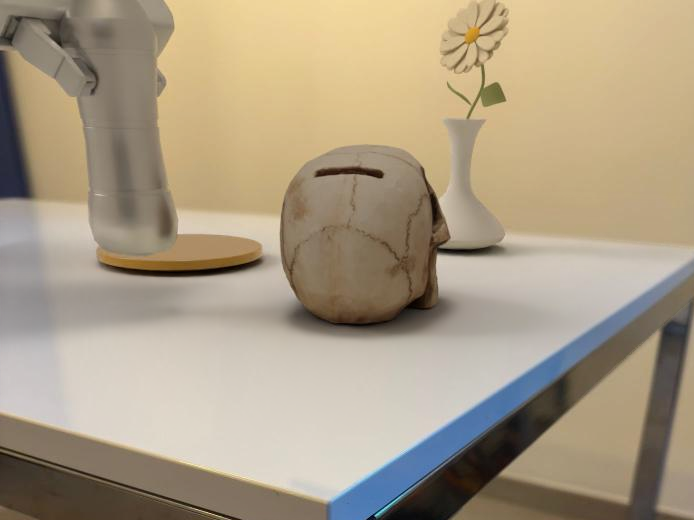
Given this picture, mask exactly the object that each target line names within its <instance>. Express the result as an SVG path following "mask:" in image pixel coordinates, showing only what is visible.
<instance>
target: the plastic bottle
mask: <svg viewBox="0 0 694 520" xmlns="http://www.w3.org/2000/svg"><path fill="white" fill-rule="evenodd" d="M59 36H60V40H61V44H62V49H64V50H65V51H66V52H67V53H68V54H69V55H70V56H72V57H73V58H81V59H82V60H83V61H84V62H85V63H86V65H87V66H88V69H89V70H90V71H92V72H93V74H94V75H95V78H96V85H95V87H94V88H93V89H92V90H91V94H90V96H87V97H75V99H76V102H77V108H78V113H79V117H80V120H81V121H82V126H81V128H82V132H83V138H84V141H85V142H84V143H85V155H86V156H85V157H86V167H87V168H86V169H87V179H88V181H87V182H88V187H89V191H88V192H87V215H88V216H87V217H88V225H89V227H90V230H91V234H92V236H93V239H94V241H95V242H96V244H97V245H98V246H100V247H101V249H102V250H104V251H107V252H112V253H117V254H122V255H126V256H131V257H144V256H148V255H152V254H155V253H159V252H163V251H166V250H169V249H171V248H172V247H173V245H174V243H175V241H176V239H177V234H179V233H178V232H179V231H178V230H179V217H178V213H177V209H176V204H175V201H174V197H173V194H172V191H171V190H169V181H168V176H167V175H168V174H167V171H166V164H165V159H164V154H163V150H162V149H163V148H162V144H161V133H160V127H159V121H158V120H159V107H158V106H159V105H158V97H157V68H158V58H157V52H158V50H157V37H156V34H155V31H154V28H153V25H152V23H151V21H150V19H149V18H148V16H147V14H146V13H145V11H144V9H143V8H142V6H141V5H140V3H139V2H138V1H137V0H68V2H67V4H66V7H65V11H64V14H63V17H62V19H61V20H60V31H59Z"/></svg>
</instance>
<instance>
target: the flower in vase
mask: <svg viewBox="0 0 694 520" xmlns="http://www.w3.org/2000/svg"><path fill="white" fill-rule="evenodd" d="M509 11H510V10H509V8H508V7H505V3H504V2H500V1H497V0H479V1H478V2H477V0H469V1H468V4H467V6H466V8H459V9H458V10H457V12H456V17H450V18H449V19H447V23H446V25H447V29H446V30H444V31H443V32H442V34H441V40H440V43H439V45H440V46H439V49H438V50H439V54H440V55H441V58H440V59H439V63H440V64H439V65H441V66H442V67H445V68H446V70H447V71H449V72H450V71H453V74H455V75H460V74H463V73H464V74H467V73H469V72H470V71H471V70H472V69H473V67H475V68H480V71H481V84H480V88H479V90H478V93H477V95H476V97H475V98H474V100H473V103H471V101H470V100H469V99H468V98H467V97H466V96H465V95H463V93H461V92H459V91H457V90H455V89H454V88H453V87H452V86H451V85H450V83H449V82H448V80H446V85H447V89H448V90H449V91H451V92H452V93H453V94H455V95H456V96H457V97H459V98H460V99H462V100H463V101H464V102H465V103H467V104H468V105H470V109H469V111H468V113H467V115H466V118H465V117H441V118H440V119H441V120H440V121H441V122H442V124H443V126H444V128H445V129H446V131H447V135H448V139H449V146H450V158H451V159H450V175H449V177H450V178H449V182H448V186H447V189H446V191H445V192H444V193H443V195H441V197H440V198H438V201H439V204H440V207H441V210H442V212H443V214H444V216H445V218H446V223H447V227H448V230H449V233H450V236H451V239H450V240H449V241H447V243H445V244H444V245H442V246H439V247H438V249H444V250H476V249H483V248H489V247H491V246H494V245H496V244H499V243H500V242H502V241H503V239H504V238H505V237H506V231H505V227H504V226H503V225H502V223H501V222H500V221H499V219H498V218H497V217H496V216H495V215H494V214H493V212H491V211H490V210H489V209H488V208H487V207H486V206H485V205H484V204H483V203H482V202H481V201H480V200H479V199H478V197H477V196H476V195H475V193H474V191H473V189H472V185H471V183H472V182H471V168H472V157H473V153H474V152H473V151H474V147H475V143H476V139H477V137H478V134H479V132H480V130H481V128H482V127H483V126H484V124H485V123H486V121H487V119H486V118H473V117H472V118H471V116H472V113H473V111H474V109H475V108H476V106H477V104H478V102H479V100H481V105H482V107H484V108H488V107H492V106H494V105H498V104H501V103H505V102H507V98H506V96H505V93H504V90H503V88H502V86H501V85H500V83H499V82H498V81H494V82H492V83H490V84H489V85H487V86H485V84H486V72H485V63H486V62H487V61H489V60H491V59H492V58H493V57H494V51H497V50H498V49H499V48H500V47H501V45H502V40H503V39H504V38H505V37H506V36H507V35H508V34H509V31H510V29H509V27H508V26H507V25H508V24H509V21H510V18H509V17H508V15H509Z"/></svg>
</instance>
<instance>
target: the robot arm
mask: <svg viewBox="0 0 694 520" xmlns="http://www.w3.org/2000/svg"><path fill="white" fill-rule="evenodd" d="M137 1H138V2H139V3H140V5H141V6H142V8H143V9H144V11H145V13H146V14H147V16H148V18H149V19H150V21H151V23H152V25H153V28H154V31H155V34H156V37H157V50H158V52H157V59H158V58H159V57H160V56H161V54H162V53H163V51H164V49H165V48H166V46H167V44H168V43H169V42H170V40H171V37H172V36H173V34H174V32H175V27H176V26H175V20H174V16H173V12H172V11H171V9H170V7H169V6H168V4H167V3H166V1H165V0H137ZM67 2H68V0H0V51H6V52H7V51H8V52H9V51H10V52H17V53H18V54H19V55H20V56H21V58H22V59H23V60H24V61H26V62H28V63H29V64H31V65H32V66H34V68H36V69H38V70H39V71H41V72H43V73H44V74H45V75H47V76H48V77H50V78H52V79H54V80H55V81H56V82H57V84H58V85H59V87H60V88H61V89H62V90H63V91H64V92H65V94H66V95H67V96H68V97H69V98H76V97H87V96H90V94H91V90H92V89H93V88H94V87H95V85H96V78H95V75H94V74H93V72H92V71H90V70H89V69H88V66H87V65H86V63H85V62H84V61H83V60H82V59H81V58H73V57H72V56H70V55H69V54H68V53H67V52H66V51H65V50H64V49H62V44H61V40H60V36H59V31H60V20H61V19H62V17H63V14H64V11H65V7H66V4H67ZM166 86H167V78H166V77H165V75H164V74H163V72H162V71H161V69H160V68H159V67H157V98H159V97H160V96H161V94H162V93H163V91H164V90H165V88H166Z"/></svg>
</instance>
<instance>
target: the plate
mask: <svg viewBox="0 0 694 520" xmlns="http://www.w3.org/2000/svg"><path fill="white" fill-rule="evenodd" d="M95 252H96V258H97V259H98V261H100V262H101V263H103V264H106V265H109V266H114V267H118V268H125V269H132V270H143V271H150V272H164V273H165V272H166V273H167V272H168V273H169V272H172V273H173V272H175V273H177V272H178V273H179V272H180V273H181V272H199V271H200V270H201V271H208V270H209V269H210V270H216V269H223V268H227V267H233V266H238V265H243V264H247V263H251V262H254V261H256V260H258V259H260V258H262V256H263V255H264V252H263V244H262V243H261V242H259V241H257V240H254V239H250V238H247V237H241V236H234V235H224V234H210V233H209V234H207V233H177V239H176V241H175V243H174V245H173V247H172V248H171V249H169V250H166V251H163V252H159V253H155V254H152V255H148V256H144V257H131V256H126V255H122V254H117V253H112V252H107V251H104V250H102V249H101V247H100V246H99V245H98V246H97V247H96V250H95ZM210 270H209V271H210Z"/></svg>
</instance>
